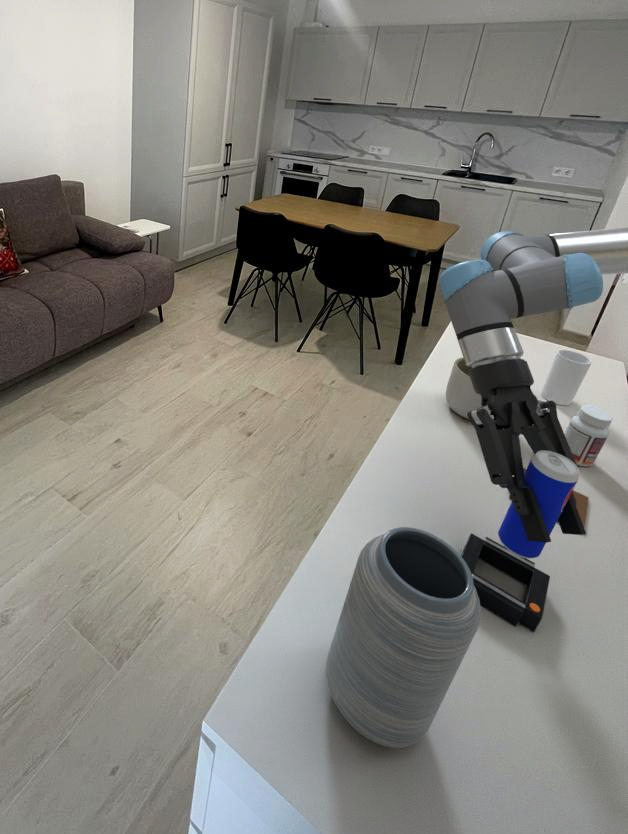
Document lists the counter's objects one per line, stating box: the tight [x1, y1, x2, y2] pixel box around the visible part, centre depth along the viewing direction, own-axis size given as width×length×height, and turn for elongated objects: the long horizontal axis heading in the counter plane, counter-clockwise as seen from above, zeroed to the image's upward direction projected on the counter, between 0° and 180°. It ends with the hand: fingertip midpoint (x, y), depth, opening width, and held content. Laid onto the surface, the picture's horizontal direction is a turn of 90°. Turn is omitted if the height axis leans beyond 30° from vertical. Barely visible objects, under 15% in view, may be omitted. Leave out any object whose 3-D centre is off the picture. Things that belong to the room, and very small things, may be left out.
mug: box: [540, 349, 593, 406], centre depth 122 cm, size 10×7×12 cm, turn 148°
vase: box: [325, 526, 482, 749], centre depth 54 cm, size 12×12×23 cm
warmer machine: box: [460, 532, 551, 633], centre depth 73 cm, size 11×11×3 cm
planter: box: [445, 356, 481, 420], centre depth 113 cm, size 12×12×11 cm
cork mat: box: [508, 467, 590, 529], centre depth 91 cm, size 11×11×1 cm
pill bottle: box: [564, 404, 614, 468], centre depth 100 cm, size 6×6×11 cm
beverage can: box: [497, 450, 580, 560], centre depth 67 cm, size 5×5×15 cm
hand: (557, 537), depth 65 cm, fingers closed on beverage can, 5 cm apart
